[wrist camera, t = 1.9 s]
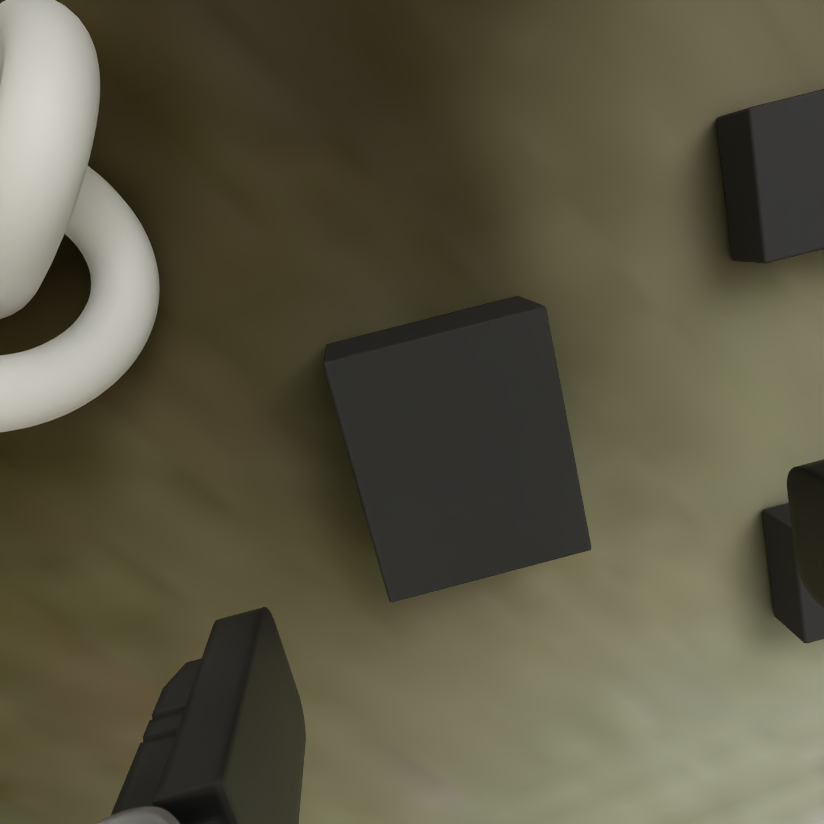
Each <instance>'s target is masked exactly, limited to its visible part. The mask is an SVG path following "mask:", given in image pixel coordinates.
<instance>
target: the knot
mask: <svg viewBox="0 0 824 824" xmlns="http://www.w3.org/2000/svg"><path fill="white" fill-rule="evenodd" d="M99 102H100V73H99V65H98V59H97V54H96V50H95V47H94V44H93V42H92V40H91V37H90V35H89V33H88V31H87V29H86V28H85V27H84V25H83V24H82V22H81V21H80V20H79V18H78V17H77V16H76V15H75V14H74V13H73V12H71V11H70V10H69V9H68V8H67V7H66V6H64V5H63V4H61V3H59V2H57V1H55V0H6V1H4V2H2V3H1V4H0V319H2V318H5V317H7V316H10V315H12V314H14V313H16V312H17V311H19V310H20V309H22V308H23V307H24V306H25V305H26V304H27V303H28V302H29V301H30V300H31V299H32V298H33V297H34V295H35V294H36V292H37V291H38V289H39V287H40V285H41V283H42V281H43V279H44V277H45V275H46V274H47V272H48V270H49V268H50V266H51V264H52V262H53V259H54V257H55V255H56V252H57V250H58V247H59V245H60V243H61V241H62V238H63V236H64V234H65V235H66V236H68V237H69V238H70V239H71V240H72V242H73V243H74V244H75V245H76V246H77V247H78V248H79V250H80V251H81V253H82V255H83V256H84V258H85V260H86V262H87V265H88V268H89V271H90V276H91V292H90V297H89V300H88V302H87V304H86V307H85V308H84V310H83V312H82V313H81V315H80V316H79V317H78V319H77V320H76V321H75V322H74V323H73V324H72V325H71V326H70V327H69V328H68V329H67V330H66V331H64V332H63V333H62V334H60V335H59V336H57V337H55V338H54V339H52V340H50V341H48V342H46V343H44V344H42V345H40V346H37V347H35V348H33V349H30V350H27V351H23V352H19V353H14V354H8V355H0V432H7V431H12V430H17V429H22V428H27V427H32V426H35V425H38V424H42V423H45V422H48V421H51V420H54V419H56V418H59V417H61V416H64V415H66V414H68V413H70V412H72V411H74V410H76V409H78V408H80V407H82V406H84V405H85V404H87V403H88V402H90V401H91V400H93V399H95V398H96V397H98V396H99V395H100V394H102V393H103V392H104V391H105V390H107V389H108V388H109V387H110V386H112V385H113V384H114V383H115V382H116V381H117V380H118V379H119V378H120V377H121V376H122V375H124V374H125V372H126V371H127V370H128V369H129V368H130V366H131V365H132V364H133V363H134V362H135V360H136V359H137V357H138V356H139V354H140V353H141V351H142V349H143V347H144V346H145V344H146V342H147V340H148V338H149V335H150V333H151V330H152V328H153V325H154V322H155V319H156V315H157V310H158V304H159V291H160V288H159V274H158V267H157V263H156V259H155V255H154V252H153V249H152V246H151V244H150V241H149V239H148V236H147V234H146V232H145V230H144V228H143V227H142V225H141V223H140V221H139V220H138V218H137V217H136V215H135V214H134V212H133V211H132V210H131V208H130V207H129V206H128V205H127V203H126V202H125V201H124V200H123V199H122V197H121V196H120V195H119V194H118V193H117V192H116V191H115V189H114V188H113V187H112V186H111V185H110V184H109V183H108V182H107V181H105V180H104V179H103V178H102V177H101V176H100V175H99V174H97V173H96V172H95V171H94V170H92V169H91V168H90V167H89V166H88V162H89V158H90V154H91V149H92V145H93V140H94V135H95V130H96V124H97V118H98V111H99Z"/></svg>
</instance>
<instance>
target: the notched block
mask: <svg viewBox="0 0 824 824" xmlns="http://www.w3.org/2000/svg"><path fill="white" fill-rule="evenodd" d="M716 122H717V131H718V139H719V148H720V157H721V165H722V174H723V182H724V191H725V199H726V208H727V216H728V225H729V234H730V242H731V251H732V259H733V260H734V261H743V262H754V263H770V262H774V261H778V260H782V259H786V258H789V257H793V256H797V255H801V254H805V253H809V252H813V251H817V250H821V249H824V89H823V90H819V91H815V92H811V93H807V94H803V95H799V96H795V97H791V98H787V99H783V100H779V101H775V102H770V103H766V104H762V105H758V106H754V107H750V108H747V109H744V110H740V111H737V112H733V113H730V114H727V115H723V116H720V117H718V118H717V120H716ZM762 513H763V522H764V530H765V539H766V547H767V556H768V564H769V573H770V582H771V590H772V599H773V607H774V615H775V617H776V618H777V619H778V620H779V621H780V622H782V623H783V624H784V625H785V626H786V627H787V628H788V629H789V630H790V631H792V632H793V633H794V634H795V635H796V636H797V637H798V638H799V639H800V640H801V641H803V642H804V643H810V642H813V641H817V640H821V639H824V608H823V607H822V606H821V605H819V604H818V603H817V602H816V601H815V600H814V599H813V598H812V596H811V595H810V594H809V592H808V591H807V589H806V588H805V586H804V584H803V582H802V580H801V578H800V575H799V572H798V569H797V565H796V559H795V550H794V542H793V533H792V524H791V516H790V507H789V503H788V504H784V505H780V506H776V507H772V508H769V509H765V510H763V512H762Z"/></svg>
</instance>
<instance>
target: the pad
mask: <svg viewBox="0 0 824 824" xmlns="http://www.w3.org/2000/svg"><path fill="white" fill-rule="evenodd" d="M323 366H324V369H325V373H326V377H327V380H328V384H329V387H330V391H331V394H332V398H333V402H334V405H335V409H336V412H337V416H338V419H339V423H340V427H341V430H342V434H343V437H344V441H345V445H346V448H347V452H348V455H349V459H350V462H351V466H352V470H353V473H354V477H355V480H356V484H357V487H358V491H359V495H360V498H361V502H362V505H363V509H364V513H365V516H366V520H367V523H368V527H369V530H370V534H371V538H372V541H373V545H374V548H375V552H376V555H377V559H378V563H379V566H380V570H381V573H382V577H383V581H384V584H385V588H386V591H387V595H388V598H389V601H390V602H395V601H399V600H403V599H406V598H410V597H414V596H418V595H422V594H425V593H429V592H433V591H437V590H440V589H444V588H448V587H452V586H456V585H459V584H463V583H467V582H471V581H475V580H478V579H482V578H486V577H490V576H493V575H497V574H501V573H505V572H509V571H512V570H516V569H520V568H524V567H528V566H531V565H535V564H539V563H543V562H546V561H550V560H554V559H558V558H562V557H565V556H569V555H573V554H577V553H581V552H584V551H588V550H591V543H590V538H589V533H588V527H587V522H586V517H585V512H584V506H583V501H582V496H581V490H580V485H579V480H578V475H577V469H576V464H575V459H574V453H573V448H572V443H571V438H570V432H569V427H568V422H567V417H566V411H565V406H564V401H563V395H562V390H561V385H560V380H559V374H558V369H557V364H556V358H555V353H554V348H553V343H552V337H551V332H550V327H549V322H548V316H547V311H546V307H545V306H543V305H540V304H538V303H535V302H533V301H530V300H527V299H525V298H522V297H520V296H515V297H511V298H508V299H504V300H500V301H496V302H492V303H488V304H484V305H480V306H476V307H472V308H468V309H464V310H460V311H456V312H452V313H448V314H445V315H441V316H437V317H433V318H429V319H425V320H421V321H417V322H413V323H409V324H405V325H401V326H397V327H393V328H389V329H385V330H381V331H378V332H374V333H370V334H366V335H362V336H358V337H354V338H350V339H346V340H342V341H338V342H334V343H330V344H327V345H326V350H325V356H324V363H323Z"/></svg>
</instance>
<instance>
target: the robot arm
mask: <svg viewBox="0 0 824 824" xmlns="http://www.w3.org/2000/svg"><path fill="white" fill-rule="evenodd" d="M787 490H788V499H789V507H790V516H791V524H792V533H793V542H794V550H795V559H796V565H797V569H798V572H799V575H800V578H801V580H802V582H803V584H804V586H805V588H806V589H807V591H808V592H809V594H810V595H811V596H812V598H813V599H814V600H815V601H816V602H817V603H818V604H819V605H821V606H822V607H823V608H824V459H823V460H820V461H816V462H812V463H808V464H805V465H801V466H797V467H794V468H792V469H791V470H790V472H789V474H788V478H787ZM152 718H153V720H150V721H149V724H148V726H147V728H146V731H145V733H144V736H143V743H140V745H139V748H138V750H137V753H136V755H135V758H134V760H133V762H132V765H131V767H130V770H129V772H128V775H127V777H126V780H125V782H124V784H123V787H122V789H121V792H120V794H119V797H118V799H117V801H116V804H115V806H114V809H113V811H112V814H111V816H109V817H107V818H105V819H103V820H101V821H100V822H98V823H96V824H298V823H299V811H300V800H301V788H302V776H303V765H304V753H305V741H306V732H305V721H304V715H303V709H302V705H301V700H300V697H299V694H298V690H297V687H296V684H295V681H294V678H293V675H292V672H291V669H290V666H289V663H288V660H287V657H286V654H285V651H284V648H283V645H282V642H281V639H280V636H279V633H278V630H277V627H276V624H275V622H274V619H273V617H272V614H271V613H270V611H269V610H268V609H267V608H266V607H263V608H259V609H256V610H252V611H248V612H244V613H241V614H237V615H233V616H229V617H226V618H222V619H218V620H216V621H215V623H214V625H213V628H212V631H211V634H210V636H209V639H208V642H207V645H206V648H205V651H204V654H203V657H202V659H199V660H195V661H191V662H187V663H185V665H184V666H183V667H182V668H181V669H180V670H179V671H178V672H177V673H176V675H175V676H174V677H173V678H172V679H171V680H170V681H169V682H168V684H167V685H166V686H165V687H164V688H163V689H162V692H161V694H160V697H159V699H158V702H157V704H156V706H155V709H154V711H153V714H152Z"/></svg>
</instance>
